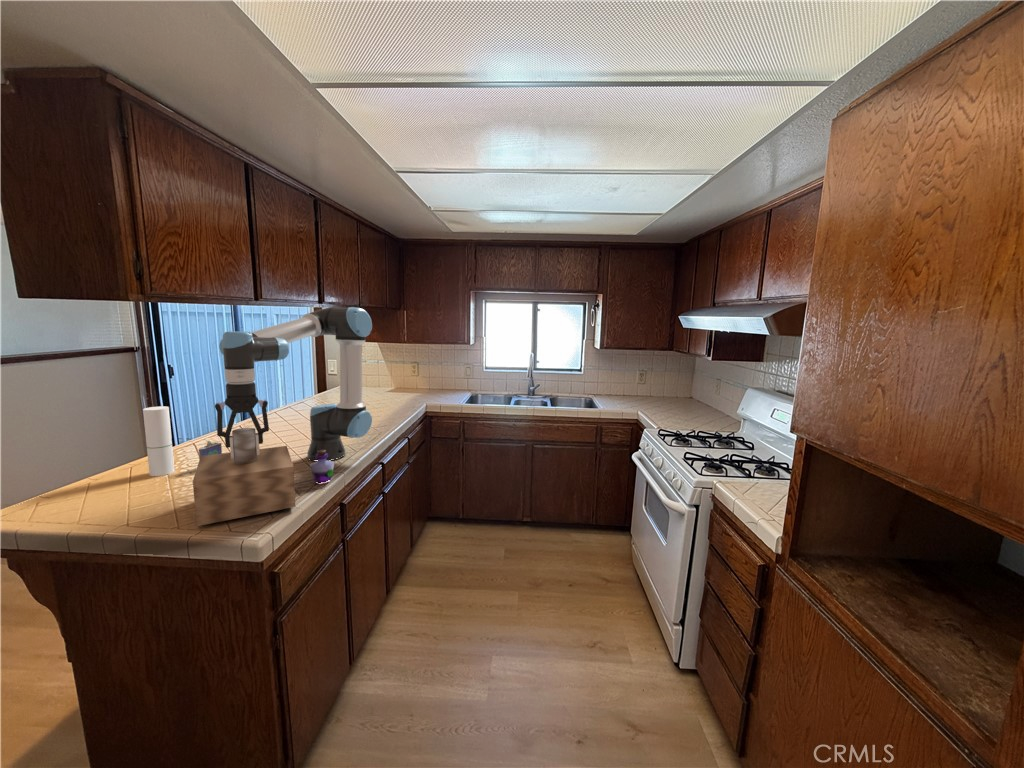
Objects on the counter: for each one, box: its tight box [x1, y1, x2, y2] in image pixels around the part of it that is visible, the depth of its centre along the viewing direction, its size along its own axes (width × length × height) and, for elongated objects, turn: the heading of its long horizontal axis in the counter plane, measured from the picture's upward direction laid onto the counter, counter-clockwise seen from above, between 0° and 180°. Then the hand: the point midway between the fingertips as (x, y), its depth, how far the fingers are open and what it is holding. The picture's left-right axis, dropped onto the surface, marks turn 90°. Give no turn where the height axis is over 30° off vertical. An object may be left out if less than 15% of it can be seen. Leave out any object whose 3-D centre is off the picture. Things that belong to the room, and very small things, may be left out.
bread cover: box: [192, 427, 296, 527], centre depth 125 cm, size 24×24×23 cm
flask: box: [198, 440, 223, 460], centre depth 158 cm, size 9×3×11 cm, turn 172°
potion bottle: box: [309, 450, 335, 483], centre depth 146 cm, size 9×9×12 cm
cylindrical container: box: [142, 405, 176, 477], centre depth 149 cm, size 7×7×25 cm
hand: (245, 455), depth 125 cm, fingers closed on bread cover, 6 cm apart
